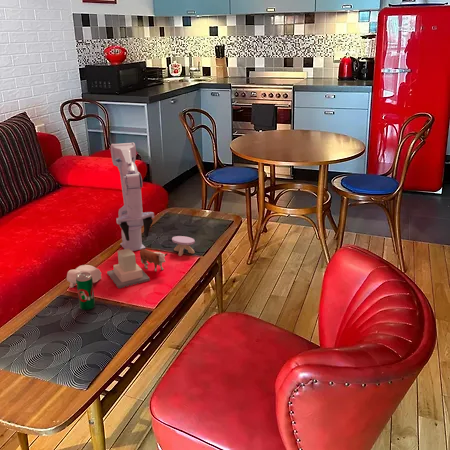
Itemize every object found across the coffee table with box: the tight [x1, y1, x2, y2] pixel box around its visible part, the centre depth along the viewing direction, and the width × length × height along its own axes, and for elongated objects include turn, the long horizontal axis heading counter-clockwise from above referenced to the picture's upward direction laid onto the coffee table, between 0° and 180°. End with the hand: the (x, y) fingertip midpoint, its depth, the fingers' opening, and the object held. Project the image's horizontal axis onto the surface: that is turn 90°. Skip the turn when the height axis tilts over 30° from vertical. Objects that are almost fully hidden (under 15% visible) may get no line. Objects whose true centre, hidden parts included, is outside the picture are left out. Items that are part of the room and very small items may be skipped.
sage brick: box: [117, 248, 137, 272], centre depth 184 cm, size 6×4×6 cm
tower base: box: [106, 263, 151, 289], centre depth 185 cm, size 13×12×4 cm
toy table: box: [171, 235, 196, 257], centre depth 206 cm, size 10×9×6 cm
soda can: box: [76, 272, 96, 311], centre depth 164 cm, size 5×5×12 cm
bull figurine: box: [139, 248, 168, 272], centre depth 191 cm, size 4×13×8 cm, turn 53°
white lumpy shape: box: [66, 264, 103, 289], centre depth 178 cm, size 8×8×15 cm
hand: (137, 237), depth 194 cm, fingers open, 7 cm apart
